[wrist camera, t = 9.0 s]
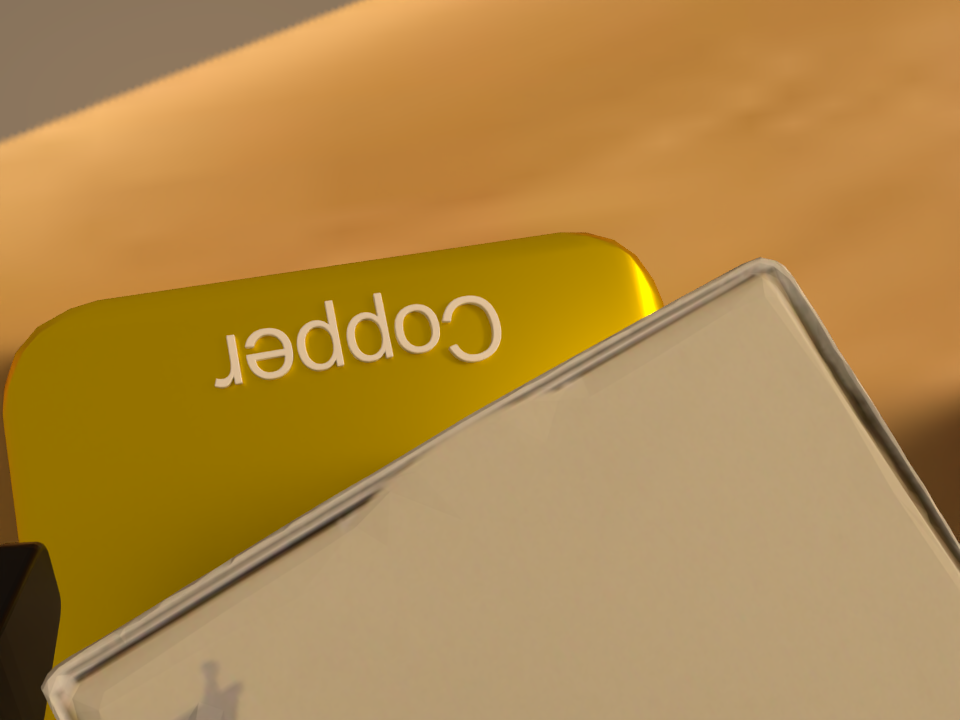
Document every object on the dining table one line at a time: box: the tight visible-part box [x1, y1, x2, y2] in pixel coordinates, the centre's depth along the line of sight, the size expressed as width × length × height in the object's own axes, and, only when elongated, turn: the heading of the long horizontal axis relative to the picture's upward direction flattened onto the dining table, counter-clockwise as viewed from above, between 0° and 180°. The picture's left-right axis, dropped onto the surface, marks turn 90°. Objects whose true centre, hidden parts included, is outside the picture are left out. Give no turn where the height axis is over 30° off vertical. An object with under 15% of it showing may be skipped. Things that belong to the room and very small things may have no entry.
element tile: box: [3, 233, 664, 720], centre depth 20 cm, size 15×15×5 cm
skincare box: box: [41, 257, 960, 720], centre depth 11 cm, size 6×4×12 cm
